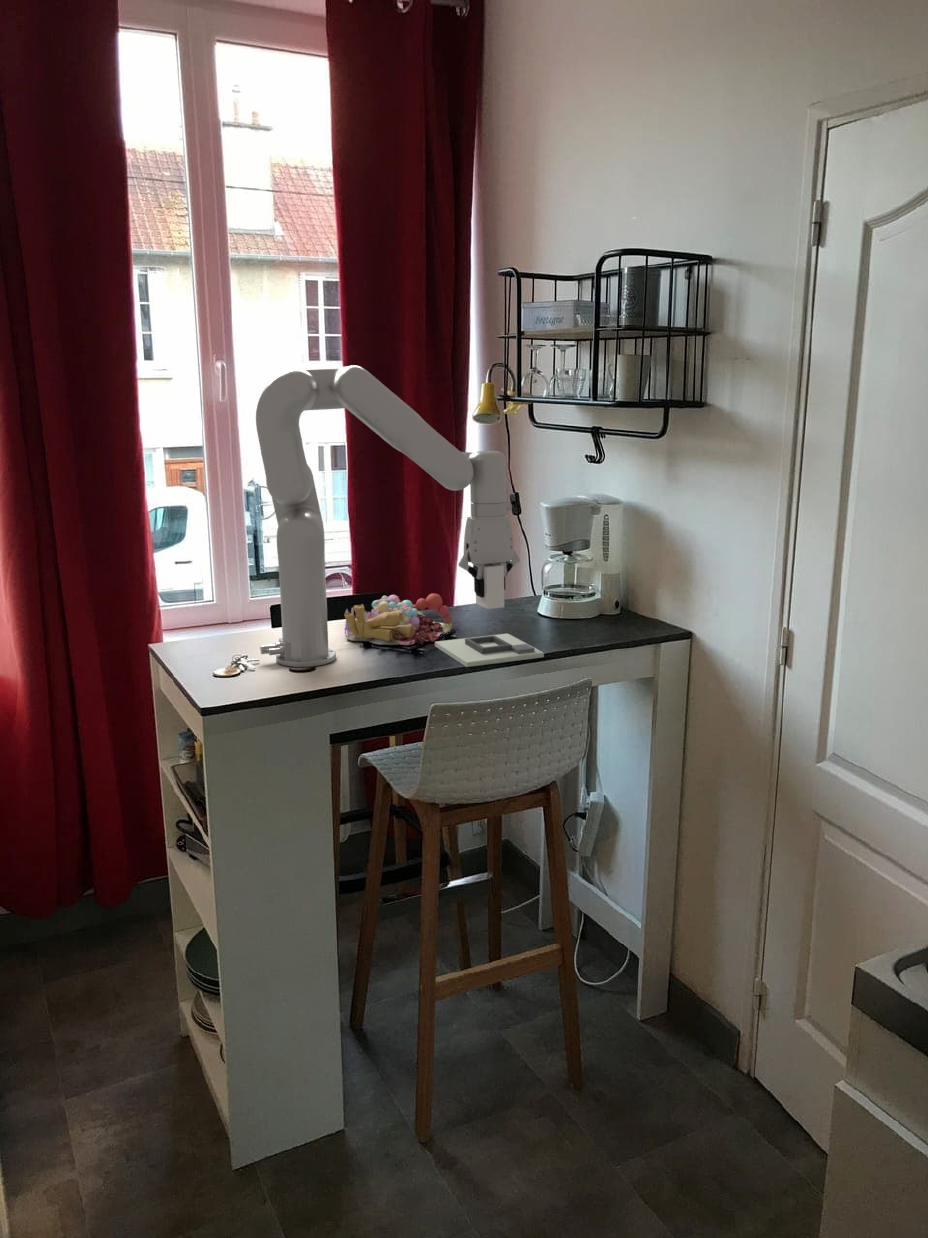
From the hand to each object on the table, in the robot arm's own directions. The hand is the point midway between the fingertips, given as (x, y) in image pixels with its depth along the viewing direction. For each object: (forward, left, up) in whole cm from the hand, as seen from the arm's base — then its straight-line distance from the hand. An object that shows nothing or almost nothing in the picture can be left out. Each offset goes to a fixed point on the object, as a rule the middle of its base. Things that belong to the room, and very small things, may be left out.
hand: (489, 594), depth 210 cm
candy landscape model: (-13, +23, -13) cm, 30 cm away
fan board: (0, 0, -13) cm, 13 cm away
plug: (0, 0, -2) cm, 2 cm away
